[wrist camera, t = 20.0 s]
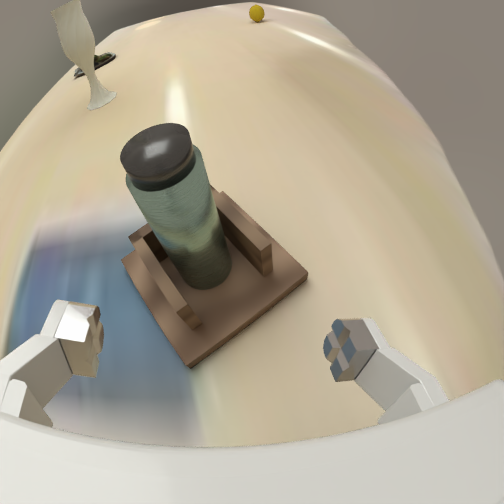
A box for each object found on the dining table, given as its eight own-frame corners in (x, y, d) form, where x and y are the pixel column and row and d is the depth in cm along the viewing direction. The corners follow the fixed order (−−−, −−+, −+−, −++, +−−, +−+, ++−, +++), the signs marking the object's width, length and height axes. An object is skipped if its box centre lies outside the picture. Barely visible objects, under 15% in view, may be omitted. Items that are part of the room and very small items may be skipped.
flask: (234, 285, 30) (194, 162, 16) (180, 293, 30) (106, 183, 16) (229, 239, 33) (196, 113, 19) (180, 247, 33) (123, 131, 19)
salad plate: (70, 73, 86) (67, 64, 83) (108, 53, 91) (105, 44, 87) (76, 81, 78) (72, 71, 74) (119, 58, 82) (116, 48, 78)
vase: (81, 112, 60) (41, 17, 34) (95, 96, 64) (61, 6, 39) (108, 105, 59) (69, 1, 33) (121, 89, 63) (89, -7, 37)
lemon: (247, 23, 87) (245, 5, 80) (257, 20, 88) (255, 3, 82) (258, 24, 84) (256, 6, 77) (268, 21, 86) (266, 3, 79)
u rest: (307, 278, 31) (312, 245, 25) (190, 368, 27) (167, 354, 21) (224, 199, 38) (215, 161, 32) (126, 266, 34) (101, 235, 28)
